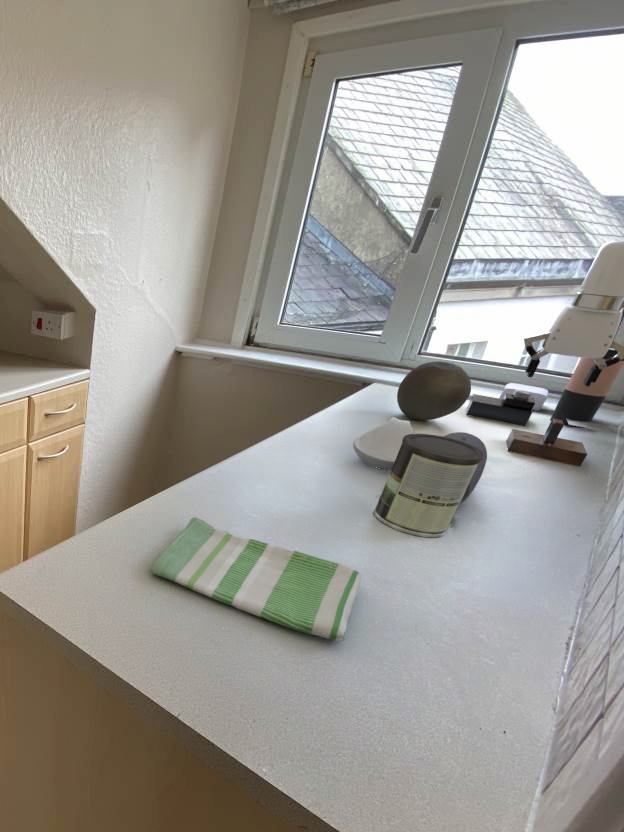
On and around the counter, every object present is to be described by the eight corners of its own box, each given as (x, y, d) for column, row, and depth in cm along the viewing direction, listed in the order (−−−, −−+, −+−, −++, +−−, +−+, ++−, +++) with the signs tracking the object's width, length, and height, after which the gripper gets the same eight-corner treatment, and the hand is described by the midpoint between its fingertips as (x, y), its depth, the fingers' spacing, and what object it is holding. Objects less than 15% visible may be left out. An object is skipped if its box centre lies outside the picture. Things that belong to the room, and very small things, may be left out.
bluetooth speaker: (419, 469, 113) (439, 423, 108) (476, 484, 107) (499, 437, 103) (393, 503, 98) (415, 453, 94) (458, 524, 93) (484, 470, 88)
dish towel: (191, 525, 89) (195, 511, 87) (358, 584, 76) (365, 567, 75) (147, 575, 76) (151, 559, 75) (339, 655, 63) (347, 637, 62)
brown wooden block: (575, 454, 124) (582, 441, 122) (580, 466, 117) (588, 453, 116) (506, 440, 130) (512, 428, 129) (507, 451, 124) (514, 438, 123)
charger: (543, 401, 162) (539, 411, 152) (502, 393, 167) (497, 403, 158) (551, 385, 160) (548, 395, 150) (509, 378, 165) (504, 387, 156)
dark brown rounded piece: (385, 419, 141) (407, 362, 134) (392, 407, 151) (413, 353, 144) (453, 434, 133) (480, 373, 126) (456, 420, 142) (481, 363, 136)
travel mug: (543, 416, 148) (582, 342, 139) (580, 421, 145) (622, 346, 136) (555, 425, 142) (596, 348, 133) (594, 430, 139) (639, 352, 130)
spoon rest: (411, 483, 107) (426, 449, 103) (343, 465, 113) (354, 433, 110) (421, 449, 123) (434, 419, 120) (361, 435, 130) (372, 406, 126)
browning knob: (542, 436, 124) (553, 417, 122) (552, 438, 124) (563, 419, 121) (543, 442, 121) (554, 422, 119) (553, 444, 120) (564, 424, 118)
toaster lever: (526, 399, 142) (530, 391, 142) (526, 401, 140) (530, 394, 140) (512, 396, 144) (515, 389, 143) (512, 399, 142) (516, 391, 141)
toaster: (523, 418, 146) (534, 396, 144) (525, 426, 140) (536, 404, 137) (466, 407, 153) (476, 386, 150) (466, 415, 147) (475, 393, 144)
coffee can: (358, 508, 96) (388, 433, 90) (408, 505, 98) (440, 432, 92) (408, 540, 87) (445, 459, 81) (462, 536, 89) (502, 457, 83)
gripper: (650, 307, 116) (606, 385, 124) (542, 297, 126) (507, 370, 133) (659, 310, 111) (613, 392, 118) (545, 300, 120) (509, 376, 128)
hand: (557, 380), depth 126 cm, fingers open, 9 cm apart
